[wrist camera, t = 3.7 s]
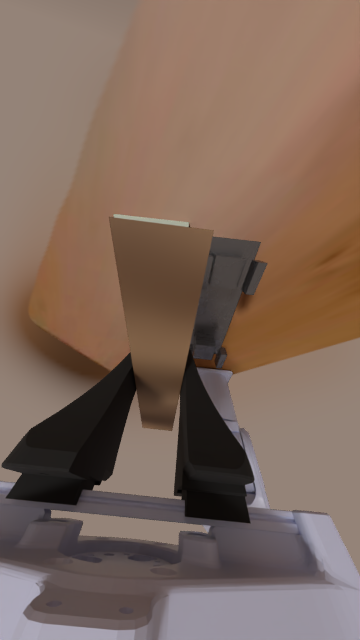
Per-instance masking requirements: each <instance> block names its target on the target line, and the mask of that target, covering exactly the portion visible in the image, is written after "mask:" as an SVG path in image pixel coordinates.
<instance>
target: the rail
mask: <svg viewBox="0 0 360 640" xmlns="http://www.w3.org/2000/svg"><path fill="white" fill-rule="evenodd" d="M109 221H110V228H111V234H112V240H113V246H114V252H115V259H116V265H117V271H118V277H119V284H120V290H121V296H122V302H123V308H124V315H125V321H126V327H127V333H128V340H129V346H130V352H131V358H132V365H133V371H134V377H135V383H136V389H137V395H138V402H139V408H140V414H141V421H142V427H143V428H150V429H159V430H168V431H172V428H173V423H174V419H175V413H176V409H177V404H178V399H179V395H180V390H181V385H182V380H183V375H184V371H185V366H186V361H187V356H188V351H189V347H190V342H191V337H192V332H193V328H194V323H195V318H196V313H197V308H198V304H199V299H200V294H201V289H202V284H203V280H204V275H205V270H206V265H207V260H208V256H209V251H210V246H211V241H212V236H213V232H214V230H207V229H199V228H192V227H184V226H176V225H169V224H161V223H153V222H145V221H138V220H130V219H122V218H114V217H109Z"/></svg>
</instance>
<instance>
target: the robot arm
mask: <svg viewBox="0 0 360 640" xmlns="http://www.w3.org/2000/svg"><path fill="white" fill-rule="evenodd" d="M232 374H233V373H232V371H226V370H217V369H207V368H198V367H196V365H195V362H194V359H193V355H192V351H191V349H189V351H188V356H187V361H186V366H185V371H184V375H183V380H182V385H181V390H180V418H179V434H178V447H177V460H176V473H175V486H174V496H182V499H181V500H178V499H168V498H159V497H150V496H139V495H131V494H121V493H111V492H101V491H92V490H93V487H94V485H100V484H101V481H102V480H103V481H106V480H107V479H108V478H109V477H110V476H111V475H112V473H113V469H114V465H115V461H116V457H117V453H118V449H119V445H120V442H121V438H122V434H123V431H124V427H125V423H126V420H127V416H128V413H129V409H130V406H131V403H132V400H133V397H134V395H135V392H136V383H135V377H134V371H133V365H132V358H131V352H130V353H129V354H128V355H127V356H126V357H125V358H124V359H123V360H122V361H121V362H120V364H118V365H117V366H116V367H115V368H114V369H113V370H112V371H111V372H110V373H109V374H108V375H107V376H106V377H104V378H103V379H102V380H101V381H100V382H99V383H97V384H96V385H95V386H94V387H92V388H91V389H90V390H88V391H87V392H86V393H84V394H83V395H82V396H80V397H79V398H78V399H76V400H75V401H73V402H72V403H70V404H69V405H67V406H66V407H65V408H63V409H62V410H60V411H59V412H57V413H56V414H54V415H52V416H51V417H49V418H47V419H46V420H44V421H43V422H41V423H39V424H38V425H36V426H35V427H33V428H31V429H30V430H29V432H28V433H27V434H26V435H25V436H24V437H23V438H22V440H21V441H20V442H19V443H18V444H17V446H16V447H15V448H14V449H13V451H12V452H11V453H10V454H9V456H8V457H7V458H6V460H5V461H4V462H3V463H2V467H3V468H5V469H9V470H13V471H16V472H20V473H22V475H21V476H20V478H19V479H18V480H17V482H16V483H15V482H5V481H0V640H360V575H359V573H358V571H357V569H356V567H355V565H354V563H353V561H352V559H351V557H350V555H349V553H348V551H347V549H346V547H345V545H344V543H343V541H342V539H341V537H340V535H339V533H338V531H337V529H336V527H335V525H334V523H333V521H332V519H331V517H330V516H329V515H328V514H327V513H321V512H312V511H299V510H293V511H285V510H275V509H270V506H269V503H268V499H267V495H266V492H265V485H264V482H263V479H262V475H261V472H260V469H259V465H258V462H257V459H256V455H255V452H254V449H253V445H252V442H251V439H250V435H249V433H248V432H247V431H246V430H245V429H244V428H239V425H238V422H237V419H236V415H235V411H234V407H233V403H232V399H231V395H230V391H229V388H228V382H229V380H230V378H231V376H232ZM240 429H241V430H240ZM50 509H51V510H61V511H71V512H80V513H90V514H100V515H110V516H120V517H129V518H139V519H149V520H159V521H169V522H178V523H188V524H198V525H203V527H204V528H205V530H206V531H207V532H208V534H206V533H202V532H194V531H180V533H179V545H173V544H167V543H159V542H153V541H146V540H137V539H128V538H115V537H97V536H79V533H80V530H81V528H82V525H83V521H81V520H75V519H69V518H51V510H50Z"/></svg>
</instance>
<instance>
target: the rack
mask: <svg viewBox="0 0 360 640" xmlns="http://www.w3.org/2000/svg"><path fill="white" fill-rule="evenodd" d="M260 243H261V242H256V241H247V240H238V239H229V238H220V237H212V241H211V246H210V251H209V256H208V260H207V265H206V270H205V275H204V280H203V284H202V289H201V294H200V299H199V304H198V308H197V313H196V318H195V323H194V328H193V332H192V337H191V342H190V347H189V349H191V351H192V354H193V358H198V359H207V360H212V357H213V354H217V355H216V358H215V365H216V368H222V366H223V363H224V361H225V359H226V357H227V353H226V350H225V348H222V347H221V345H222V343H223V340H224V338H225V335H226V332H227V330H228V327H229V324H230V322H231V319H232V317H233V314H234V311H235V309H236V306H237V303H238V301H239V298H240V296H241V293H242V291H243V292H244V293H245V294H248V295H254V293H255V291H256V288H257V286H258V284H259V282H260V279H261V277H262V275H263V272H264V270H265V268H266V266H267V263H265V262H263V261H259V260H254V259H255V256H256V253H257V251H258V248H259V246H260Z"/></svg>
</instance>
